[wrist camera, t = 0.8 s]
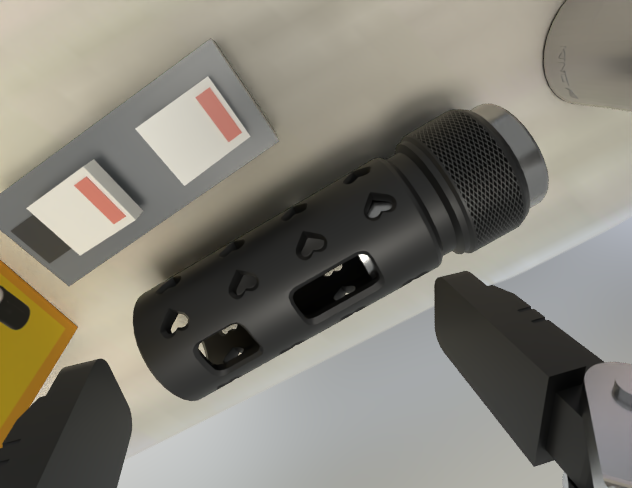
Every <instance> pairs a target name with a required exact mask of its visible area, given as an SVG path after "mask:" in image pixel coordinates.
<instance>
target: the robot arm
mask: <svg viewBox="0 0 632 488" xmlns="http://www.w3.org/2000/svg"><path fill="white" fill-rule="evenodd" d="M544 68H545V75H546V78H547V81H548V83H549V86H550V88H551V89H552V90H553V92H554V93H555V94H556V95H557V96H558V97H560V98H561V99H562V100H564V101H566V102H569V103H572V104H580V105H587V106H595V107H603V108H611V109H617V110H625V111H632V0H567V1H566V2H565V3H564V4H563V6H562V7H561V8H560V10H559V12H558V14H557V16H556V17H555V19H554V21H553V23H552V26H551V28H550V31H549V34H548V36H547V41H546V46H545V50H544ZM434 288H435V332H436V336H437V340H438V342H439V344H440V347H441V348H442V350H443V351H444V353H445V354H446V355H447V357H448V358H449V359H450V361H451V362H452V363H453V364H454V365H455V367H456V368H457V369H458V371H459V372H460V373H461V374H462V376H463V377H464V378H465V380H466V381H467V382H468V383H469V384H470V386H471V387H472V388H473V390H474V391H475V392H476V394H477V395H478V396H479V397H480V399H481V400H482V401H483V402H484V404H485V405H486V406H487V408H488V409H489V410H490V411H491V412H492V414H493V415H494V416H495V418H496V419H497V420H498V422H499V423H500V424H501V425H502V427H503V428H504V429H505V430H506V432H507V433H508V434H509V435H510V437H511V438H512V439H513V440H514V442H515V443H516V444H517V446H518V447H519V448H520V449H521V450H522V452H523V453H524V454H525V456H526V457H527V458H528V460H529V461H530V462H531V463H532V465H533V466H538V465H541V464H544V463H547V462H550V461H553V460H555V461H556V462H557V463H558V464H559V466H560V467H561V468H562V469H563V470H564V474H563V488H632V364H628V363H620V362H604V361H602V360H601V359H600V358H598V357H597V356H596V355H594V354H593V353H592V352H590V351H589V350H588V349H586V348H585V347H584V346H582V345H581V344H580V343H578V342H577V341H576V340H574V339H573V338H572V337H570V336H569V335H568V334H566V333H565V332H564V331H563V330H561V329H560V328H558V327H557V326H556V325H555V324H553V323H552V322H551V321H549V320H545V317H544V316H543V315H541V314H540V313H539V312H537V311H536V310H535V309H531V306H529V305H528V304H527V303H526V302H524V301H523V300H522V299H520V298H519V297H518V296H516V295H515V294H513V293H511V292H508V291H505V290H503V289H501V288H498V287H496V286H493V285H491V286H487V285H485V284H484V283H483V282H482V281H480V280H479V279H478V278H477V277H475V276H474V275H473V274H472V273H470V272H468V271H463V272H459V273H455V274H451V275H447V276H443V277H439V278H437V279H436V281H435V287H434ZM131 431H132V417H131V412H130V408H129V406H128V404H127V402H126V399H125V397H124V395H123V393H122V391H121V389H120V387H119V385H118V383H117V381H116V379H115V377H114V375H113V373H112V371H111V369H110V367H109V365H108V363H107V362H106V361H105V360H103V359H97V360H93V361H89V362H84V363H80V364H76V365H72V366H68V367H64V368H63V369H62V370H61V371H60V372H59V374H58V376H57V377H56V379H55V381H54V383H53V384H52V386H51V388H50V390H49V391H48V393H47V395H46V396H43V397H39V398H38V399H37V400H36V401H35V402H34V403H33V404H32V405H31V406H30V407H29V408H28V409H27V410H26V411H25V412H24V413H23V414H22V415H21V416H20V417H19V418H18V419H17V420H16V422H15V424H14V425H13V427H12V429H11V430H10V432H9V433H8V435H7V437H6V438H5V440H4V442H3V443H2V445H3V447H2V448H0V488H117V485H118V481H119V477H120V474H121V470H122V466H123V463H124V459H125V455H126V452H127V448H128V444H129V440H130V437H131Z"/></svg>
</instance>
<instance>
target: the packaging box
mask: <svg viewBox="0 0 632 488" xmlns="http://www.w3.org/2000/svg"><path fill="white" fill-rule="evenodd" d="M76 330H77V326H76V325H75V324H74V323H72V322H71V321H70V320H69V319H68V318H67V317H65V316H64V315H63V314H62V313H61V312H60V311H58V310H57V309H56V308H55V307H54V306H53V305H52V304H50V303H49V302H48V301H47V300H46V299H45V298H43V297H42V296H41V295H40V294H39V293H38V292H36V291H35V290H34V289H33V288H32V287H31V286H30V285H28V284H27V283H26V282H25V281H24V280H23V279H21V278H20V277H19V276H18V275H17V274H16V273H14V272H13V271H12V270H11V269H10V268H9V267H7V266H6V265H5V264H4V263H3V262H2V261H1V260H0V448H2V447H3V445H2V443H3V442H4V440H5V438H6V437H7V435H8V433H9V432H10V430H11V429H12V427H13V425H14V424H15V422H16V420H17V419H18V418H19V417H20V416H21V415H22V414H23V413H24V412H25V411H26V410H27V409H28V408H29V407H30V405H31V404H32V402H33V400H34V399H35V397H36V395H37V394H38V392H39V390H40V389H41V387H42V386H43V384H44V382H45V381H46V379H47V377H48V376H49V374H50V372H51V371H52V369H53V367H54V366H55V364H56V362H57V361H58V359H59V358H60V356H61V354H62V353H63V351H64V349H65V348H66V346H67V344H68V343H69V341H70V339H71V338H72V336H73V335H74V333H75V331H76Z"/></svg>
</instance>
